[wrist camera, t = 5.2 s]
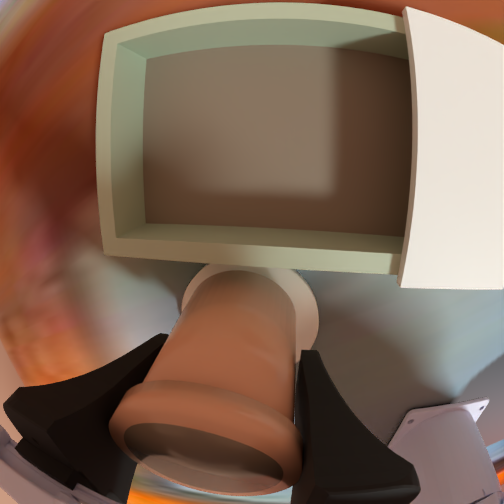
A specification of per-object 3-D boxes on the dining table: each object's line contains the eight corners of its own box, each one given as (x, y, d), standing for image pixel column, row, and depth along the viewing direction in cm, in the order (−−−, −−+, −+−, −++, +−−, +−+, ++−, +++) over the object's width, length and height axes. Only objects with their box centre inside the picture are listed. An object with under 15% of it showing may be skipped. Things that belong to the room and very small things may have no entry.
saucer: (309, 372, 15) (309, 379, 15) (191, 359, 16) (188, 366, 16) (325, 257, 13) (327, 261, 12) (180, 248, 14) (175, 252, 13)
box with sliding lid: (467, 262, 12) (502, 289, 9) (137, 242, 14) (98, 265, 11) (475, 65, 9) (512, 50, 5) (137, 45, 11) (99, 24, 8)
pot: (296, 365, 14) (289, 502, 7) (190, 354, 15) (139, 475, 8) (308, 268, 12) (320, 431, 5) (177, 259, 12) (78, 386, 5)
